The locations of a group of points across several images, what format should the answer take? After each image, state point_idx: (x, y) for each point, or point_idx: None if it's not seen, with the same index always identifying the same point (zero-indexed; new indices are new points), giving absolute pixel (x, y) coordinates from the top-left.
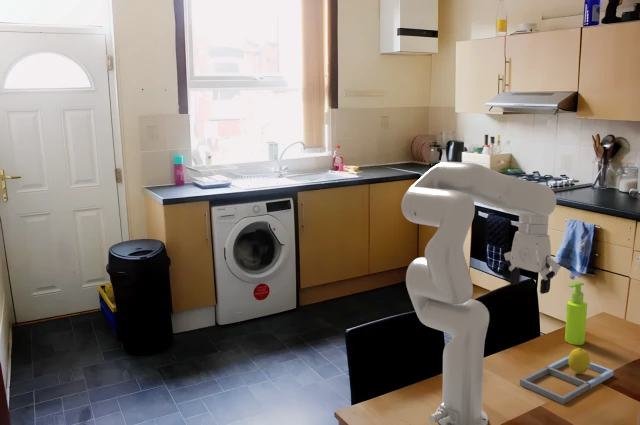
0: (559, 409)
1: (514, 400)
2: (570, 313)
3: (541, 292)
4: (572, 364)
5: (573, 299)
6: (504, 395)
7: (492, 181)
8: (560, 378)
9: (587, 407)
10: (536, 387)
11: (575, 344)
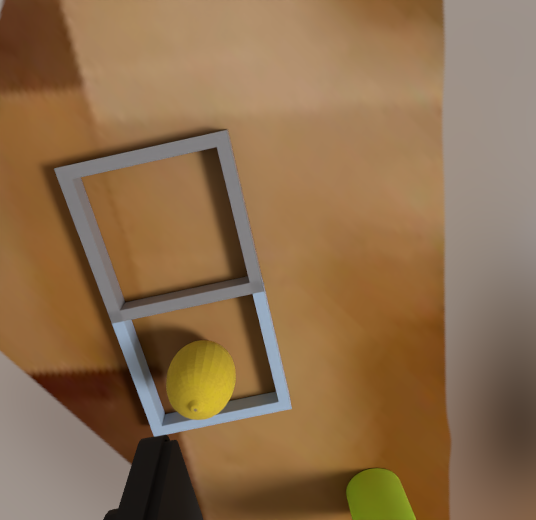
0: (39, 129)
1: (144, 23)
2: None
3: (145, 444)
4: (197, 346)
5: None
6: (188, 15)
7: None
8: (206, 285)
9: (24, 221)
10: (158, 145)
11: (354, 476)
